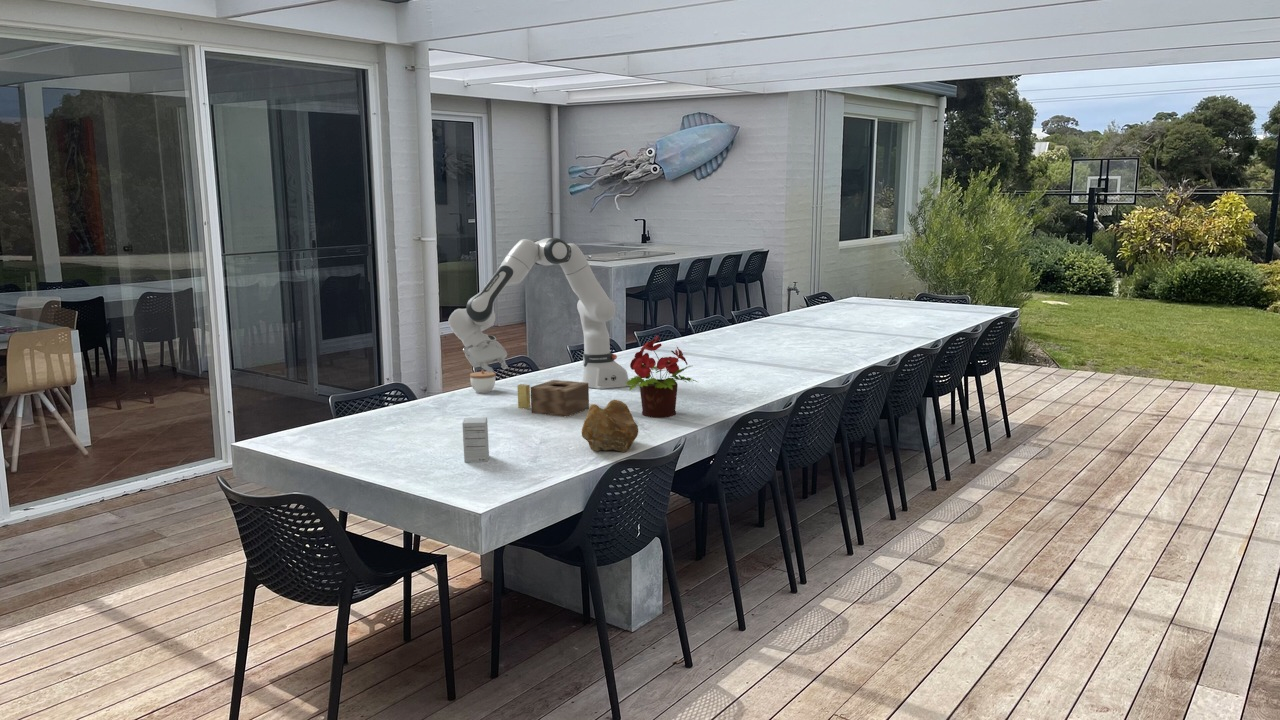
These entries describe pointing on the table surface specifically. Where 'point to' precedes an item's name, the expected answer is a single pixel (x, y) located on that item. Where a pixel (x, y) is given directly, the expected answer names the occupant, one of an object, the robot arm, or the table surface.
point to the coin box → (559, 398)
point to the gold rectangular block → (523, 396)
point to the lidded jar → (482, 381)
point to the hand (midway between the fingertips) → (498, 370)
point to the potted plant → (656, 381)
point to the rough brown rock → (610, 427)
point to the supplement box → (475, 439)
